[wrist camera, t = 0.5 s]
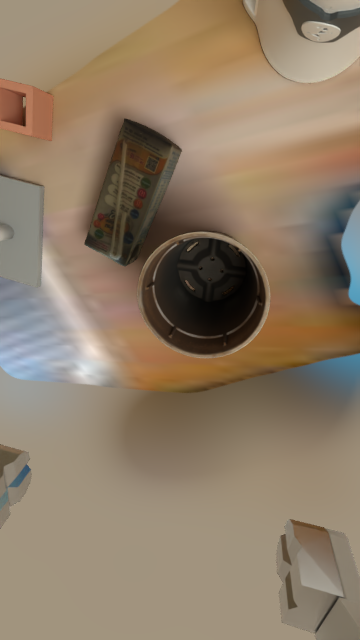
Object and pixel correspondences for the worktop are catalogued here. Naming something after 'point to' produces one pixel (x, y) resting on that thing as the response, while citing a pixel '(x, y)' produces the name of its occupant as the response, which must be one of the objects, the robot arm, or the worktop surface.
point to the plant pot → (203, 295)
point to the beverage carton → (131, 192)
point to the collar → (7, 109)
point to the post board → (21, 230)
